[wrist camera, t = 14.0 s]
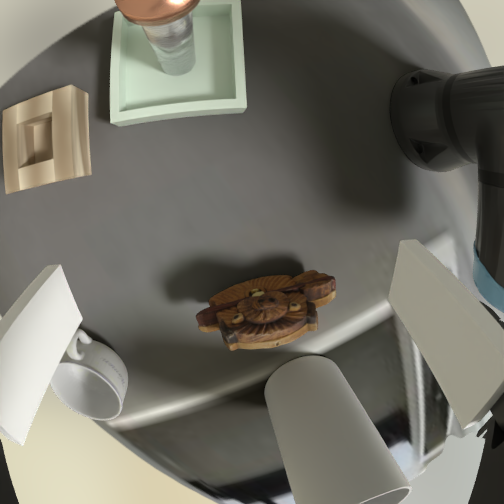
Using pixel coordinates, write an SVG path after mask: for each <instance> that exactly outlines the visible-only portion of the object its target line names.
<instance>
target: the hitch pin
mask: <svg viewBox="0 0 504 504" xmlns="http://www.w3.org/2000/svg"><path fill="white" fill-rule="evenodd" d="M199 2H200V0H115V3H116V5H117V6H118V8H119V10H120V12H121V13H122V15H123V16H124V17H125V18H126V19H127V20H128V21H129V22H131V23H133V24H136V25H140V26H142V28H143V30H144V33H145V35H146V37H147V39H148V41H149V43H150V45H151V47H152V49H153V51H154V53H155V55H156V58H157V60H158V62H159V64H160V66H161V68H162V70H163V71H164V72H165V73H167V74H168V75H171V76H181V75H184V74H186V73H188V72H189V71H190V70H191V69H192V68H193V67H194V65H195V62H196V55H195V43H194V30H193V16H192V10H193V9H194V8H195V7H196V6H197V5H198V3H199Z"/></svg>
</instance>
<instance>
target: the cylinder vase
mask: <svg viewBox="0 0 504 504" xmlns="http://www.w3.org/2000/svg"><path fill="white" fill-rule="evenodd" d="M264 395H265V399H266V403H267V407H268V410H269V414H270V418H271V421H272V425H273V428H274V432H275V435H276V439H277V442H278V446H279V449H280V453H281V456H282V460H283V463H284V466H285V470H286V473H287V476H288V480H289V483H290V487H291V490H292V493H293V496H294V500H295V503H296V504H399V503H400V502H402V501H403V500H404V499H405V498H406V497H407V496H408V495H409V494H410V493H411V491H412V488H411V485H410V484H409V482H408V480H407V479H406V477H405V475H404V474H403V472H402V471H401V469H400V467H399V466H398V464H397V462H396V461H395V459H394V457H393V456H392V454H391V452H390V451H389V449H388V447H387V446H386V444H385V442H384V441H383V439H382V438H381V436H380V434H379V433H378V431H377V429H376V428H375V426H374V424H373V423H372V421H371V420H370V418H369V416H368V415H367V413H366V411H365V410H364V408H363V407H362V405H361V403H360V402H359V400H358V398H357V397H356V395H355V394H354V392H353V390H352V389H351V387H350V386H349V384H348V382H347V381H346V379H345V378H344V376H343V374H342V373H341V371H340V370H339V368H338V366H337V365H336V364H335V363H334V362H333V361H332V360H330V359H328V358H325V357H322V356H304V357H300V358H297V359H294V360H291V361H289V362H287V363H285V364H284V365H282V366H281V367H279V368H278V369H277V370H276V371H275V372H274V373H273V374H272V375H271V376H270V378H269V379H268V381H267V383H266V386H265V391H264Z"/></svg>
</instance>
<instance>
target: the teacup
mask: <svg viewBox="0 0 504 504" xmlns="http://www.w3.org/2000/svg"><path fill="white" fill-rule="evenodd" d="M78 338H79V339H80V340H77V339H78ZM127 385H128V373H127V369H126V367H125V364H124V363H123V361H122V359H121V358H120V357H119V356H118V355H117V353H115V352H114V351H113V350H112V349H111V348H109V347H108V346H106V345H104V344H102V343H100V342H97V341H94V340H92V339H91V337H89V336H87V334H86V333H85V332H84V331H83V330H82V329H78V328H77V330H76V332H75V334H74V335H73V337H72V339H71V341H70V343H69V345H68V347H67V348H66V350H65V352H64V354H63V356H62V358H61V360H60V362H59V364H58V366H57V368H56V370H55V372H54V374H53V376H52V378H51V381H50V386H51V388H52V390H53V391H54V393H55V394H56V396H57V397H58V398H59V399H60V400H61V401H62V402H63V403H64V404H65V405H66V406H67V407H69V408H70V409H72V410H73V411H75V412H77V413H78V414H81V415H83V416H85V417H88V418H90V419H96V420H110V419H113V418H115V417H117V416H118V415H119V414H120V412H121V410H122V403H123V400H124V397H125V394H126V390H127Z"/></svg>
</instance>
